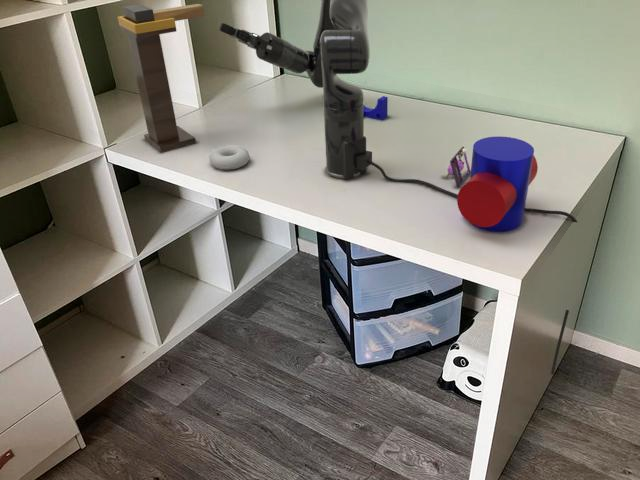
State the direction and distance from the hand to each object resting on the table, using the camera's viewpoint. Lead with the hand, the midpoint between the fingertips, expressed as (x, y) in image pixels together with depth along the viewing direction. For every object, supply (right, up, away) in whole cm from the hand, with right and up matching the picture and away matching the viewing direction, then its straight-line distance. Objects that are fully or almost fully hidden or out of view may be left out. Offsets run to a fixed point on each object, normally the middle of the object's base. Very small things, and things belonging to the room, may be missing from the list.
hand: (228, 29), depth 165 cm
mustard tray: (-17, -4, -13) cm, 22 cm away
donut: (+2, -37, -8) cm, 38 cm away
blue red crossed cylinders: (+64, -53, -32) cm, 89 cm away
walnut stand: (-17, -29, +4) cm, 34 cm away
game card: (+58, -42, -16) cm, 74 cm away
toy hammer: (-13, -2, -11) cm, 17 cm away
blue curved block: (+37, -18, +18) cm, 45 cm away
